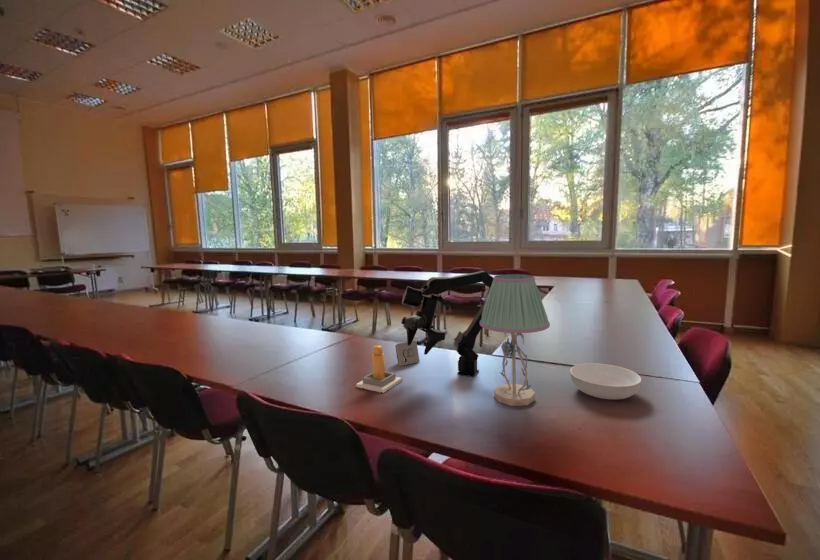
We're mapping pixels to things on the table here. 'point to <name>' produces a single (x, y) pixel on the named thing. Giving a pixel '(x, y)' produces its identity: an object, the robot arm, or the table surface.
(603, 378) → the serving bowl
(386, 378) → the plate
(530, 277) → the table lamp
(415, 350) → the electrical switch
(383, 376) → the orange bottle
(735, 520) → the table surface
